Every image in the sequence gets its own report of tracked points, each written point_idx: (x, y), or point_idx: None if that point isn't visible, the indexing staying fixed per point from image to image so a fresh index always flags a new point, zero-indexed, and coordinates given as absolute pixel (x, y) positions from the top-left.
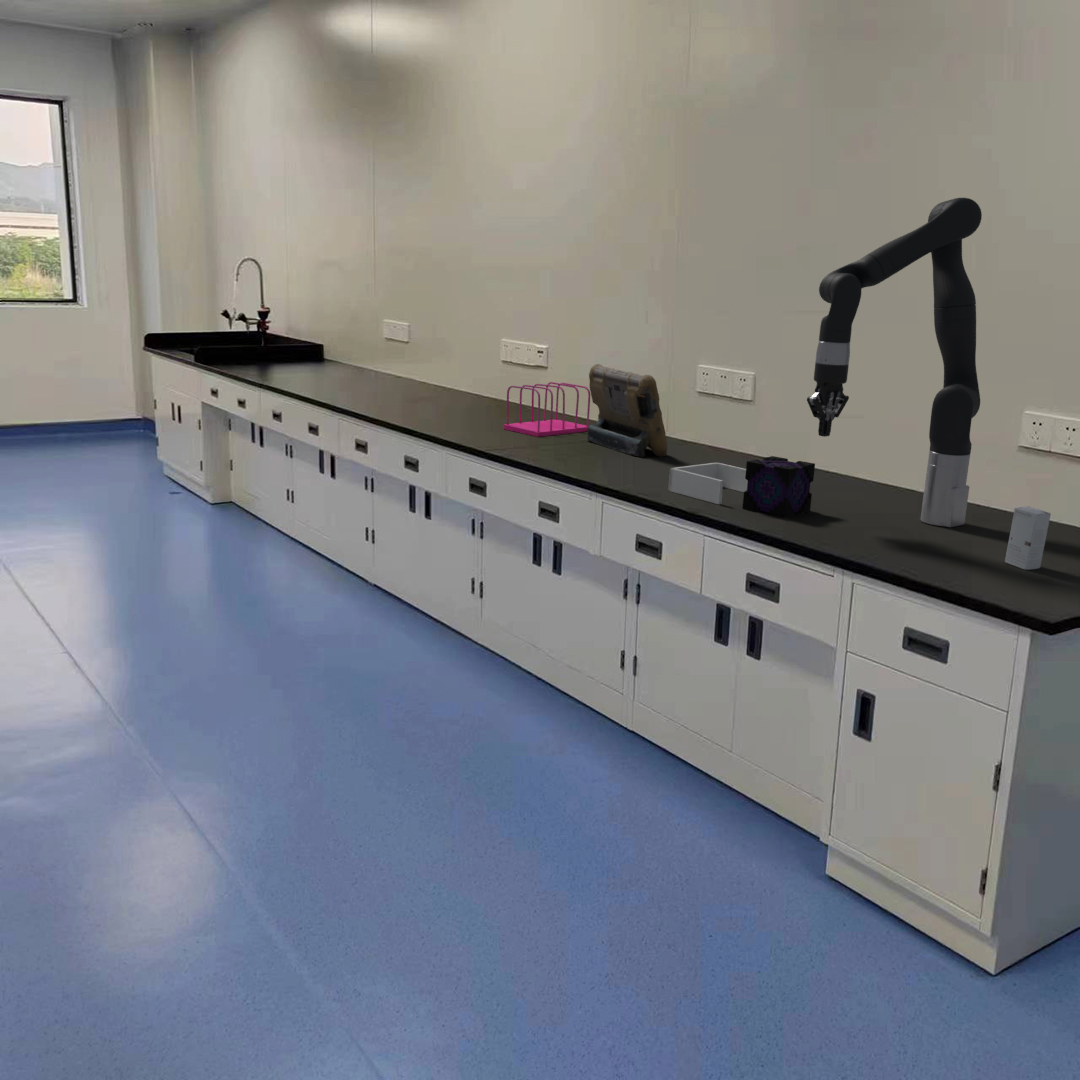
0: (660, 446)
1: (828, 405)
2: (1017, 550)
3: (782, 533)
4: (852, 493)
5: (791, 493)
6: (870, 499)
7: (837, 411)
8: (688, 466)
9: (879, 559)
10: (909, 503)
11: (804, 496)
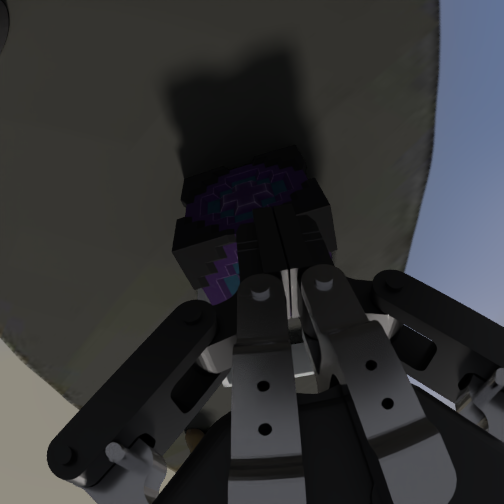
0: (197, 438)
1: (397, 365)
2: None
3: (406, 52)
4: (23, 269)
5: (271, 186)
6: (8, 228)
7: (198, 343)
8: (294, 376)
9: None
10: None
11: (209, 193)
